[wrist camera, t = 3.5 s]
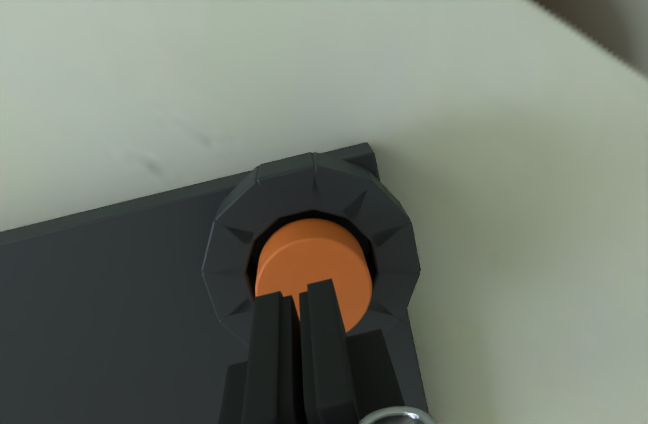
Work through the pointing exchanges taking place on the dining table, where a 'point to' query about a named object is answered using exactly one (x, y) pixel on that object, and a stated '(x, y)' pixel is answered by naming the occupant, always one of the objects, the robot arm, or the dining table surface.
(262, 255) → the button
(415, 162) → the dining table surface
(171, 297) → the scale
